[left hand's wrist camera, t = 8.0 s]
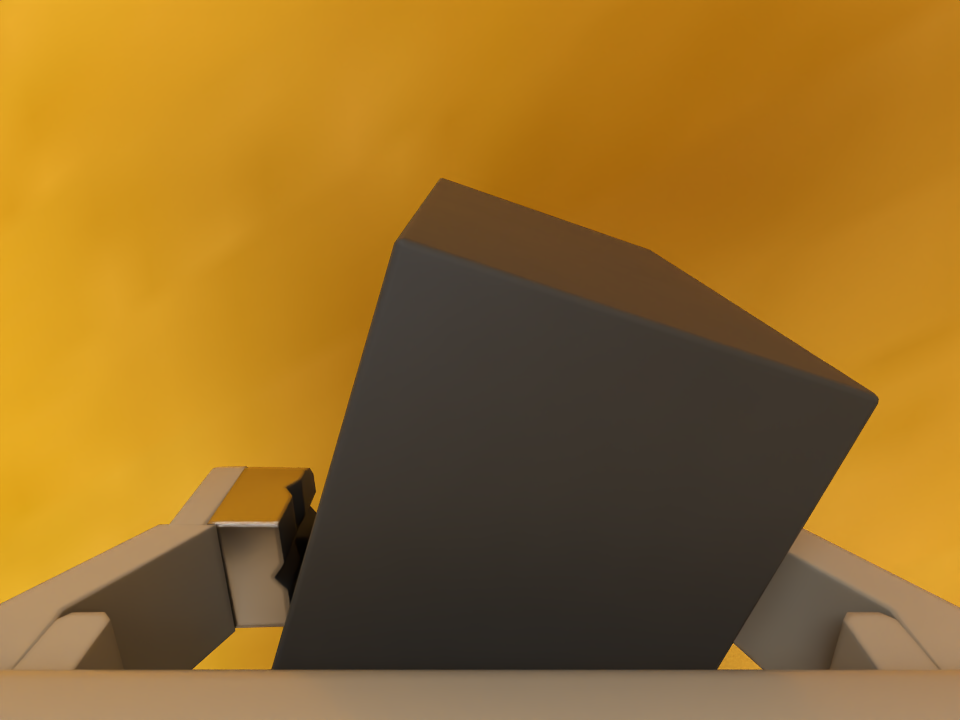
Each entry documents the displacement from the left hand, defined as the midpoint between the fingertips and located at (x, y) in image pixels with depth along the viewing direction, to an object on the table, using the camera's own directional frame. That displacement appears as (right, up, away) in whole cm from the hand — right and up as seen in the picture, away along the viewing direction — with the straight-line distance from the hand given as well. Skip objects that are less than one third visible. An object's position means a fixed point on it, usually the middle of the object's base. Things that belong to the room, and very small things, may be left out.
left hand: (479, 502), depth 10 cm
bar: (-8, -19, +11) cm, 23 cm away
